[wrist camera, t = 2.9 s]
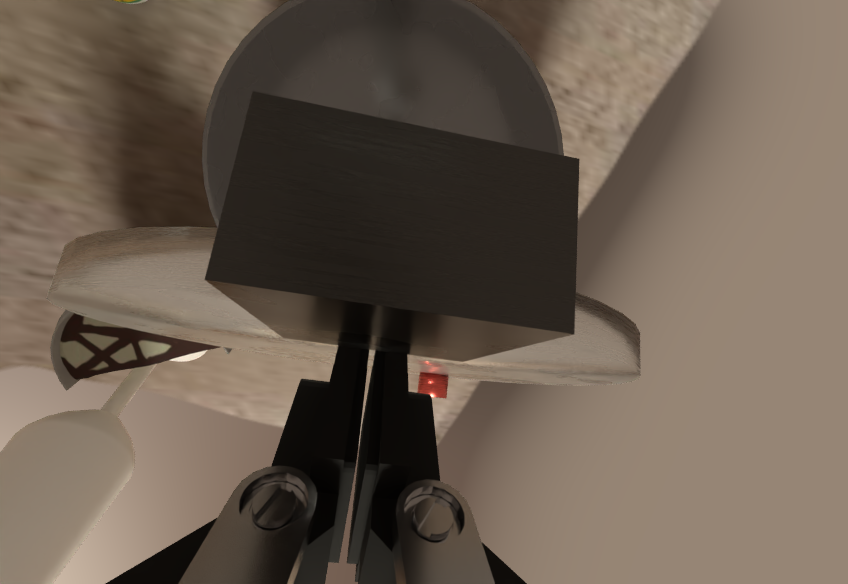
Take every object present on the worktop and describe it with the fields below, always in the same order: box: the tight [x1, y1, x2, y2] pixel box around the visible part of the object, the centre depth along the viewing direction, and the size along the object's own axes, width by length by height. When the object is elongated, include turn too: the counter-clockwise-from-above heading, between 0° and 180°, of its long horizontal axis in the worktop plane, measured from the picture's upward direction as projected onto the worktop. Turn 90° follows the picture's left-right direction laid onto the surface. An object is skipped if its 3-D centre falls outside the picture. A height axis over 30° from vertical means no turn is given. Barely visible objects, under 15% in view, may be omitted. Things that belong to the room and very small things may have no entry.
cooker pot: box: [202, 0, 564, 228], centre depth 27 cm, size 19×19×11 cm
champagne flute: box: [0, 350, 207, 584], centre depth 27 cm, size 7×7×24 cm
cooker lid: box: [47, 91, 640, 398], centre depth 15 cm, size 22×19×2 cm
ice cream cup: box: [50, 310, 232, 390], centre depth 30 cm, size 12×6×10 cm, turn 103°
